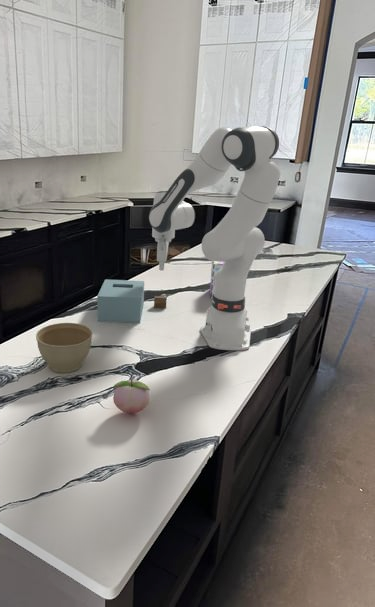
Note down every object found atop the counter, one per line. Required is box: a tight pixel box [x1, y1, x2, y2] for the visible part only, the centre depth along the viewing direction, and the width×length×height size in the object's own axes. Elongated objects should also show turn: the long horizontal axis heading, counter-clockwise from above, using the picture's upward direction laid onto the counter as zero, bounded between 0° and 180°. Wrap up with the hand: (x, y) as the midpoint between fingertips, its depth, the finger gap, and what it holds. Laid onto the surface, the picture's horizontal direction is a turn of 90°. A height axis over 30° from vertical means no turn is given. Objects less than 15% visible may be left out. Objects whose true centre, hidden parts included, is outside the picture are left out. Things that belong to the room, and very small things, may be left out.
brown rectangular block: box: [153, 295, 167, 309], centre depth 187 cm, size 2×5×4 cm, turn 92°
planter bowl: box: [35, 322, 93, 374], centre depth 136 cm, size 16×16×11 cm
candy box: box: [209, 261, 225, 300], centre depth 204 cm, size 14×6×16 cm, turn 179°
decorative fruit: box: [112, 378, 151, 414], centre depth 116 cm, size 9×8×10 cm
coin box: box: [96, 279, 145, 324], centre depth 179 cm, size 20×16×10 cm
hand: (162, 266), depth 182 cm, fingers open, 8 cm apart
